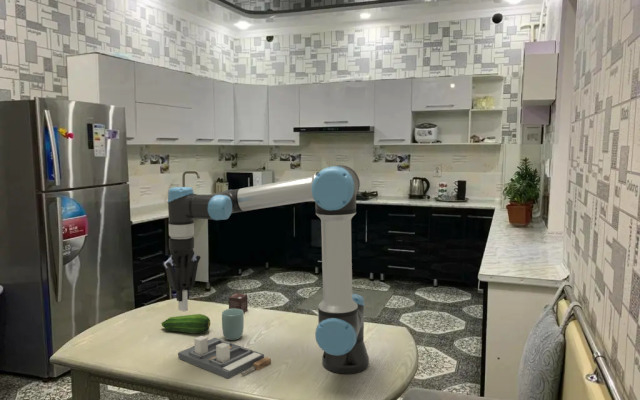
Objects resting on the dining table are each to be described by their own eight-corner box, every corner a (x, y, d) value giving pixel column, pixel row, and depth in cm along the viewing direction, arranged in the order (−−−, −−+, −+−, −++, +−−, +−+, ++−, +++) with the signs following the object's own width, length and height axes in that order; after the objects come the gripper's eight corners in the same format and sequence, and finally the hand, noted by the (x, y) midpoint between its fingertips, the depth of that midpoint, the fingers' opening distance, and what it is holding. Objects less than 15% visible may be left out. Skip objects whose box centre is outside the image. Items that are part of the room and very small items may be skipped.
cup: (239, 343, 174) (238, 316, 173) (219, 341, 176) (218, 314, 175) (246, 334, 182) (246, 309, 181) (227, 333, 184) (226, 307, 183)
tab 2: (229, 359, 155) (229, 344, 155) (222, 363, 153) (222, 347, 152) (223, 357, 157) (223, 342, 157) (216, 360, 155) (216, 345, 154)
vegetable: (206, 313, 181) (158, 310, 185) (203, 333, 178) (154, 329, 183) (214, 316, 187) (168, 312, 192) (211, 335, 185) (164, 331, 190)
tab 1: (207, 352, 161) (207, 337, 160) (200, 355, 159) (200, 340, 158) (201, 350, 163) (201, 335, 162) (194, 353, 160) (194, 338, 160)
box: (235, 309, 211) (235, 292, 210) (248, 310, 209) (247, 294, 208) (228, 313, 205) (228, 296, 204) (241, 315, 203) (241, 298, 202)
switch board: (264, 360, 160) (264, 352, 160) (228, 378, 148) (227, 370, 147) (215, 342, 175) (214, 335, 174) (178, 358, 162) (178, 350, 162)
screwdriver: (266, 362, 159) (266, 356, 159) (270, 364, 158) (270, 358, 158) (239, 376, 150) (239, 370, 149) (244, 378, 148) (244, 372, 148)
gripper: (190, 232, 158) (192, 302, 161) (156, 238, 148) (158, 313, 151) (205, 235, 154) (207, 307, 156) (171, 241, 143) (173, 318, 146)
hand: (183, 310), depth 154 cm, fingers closed
